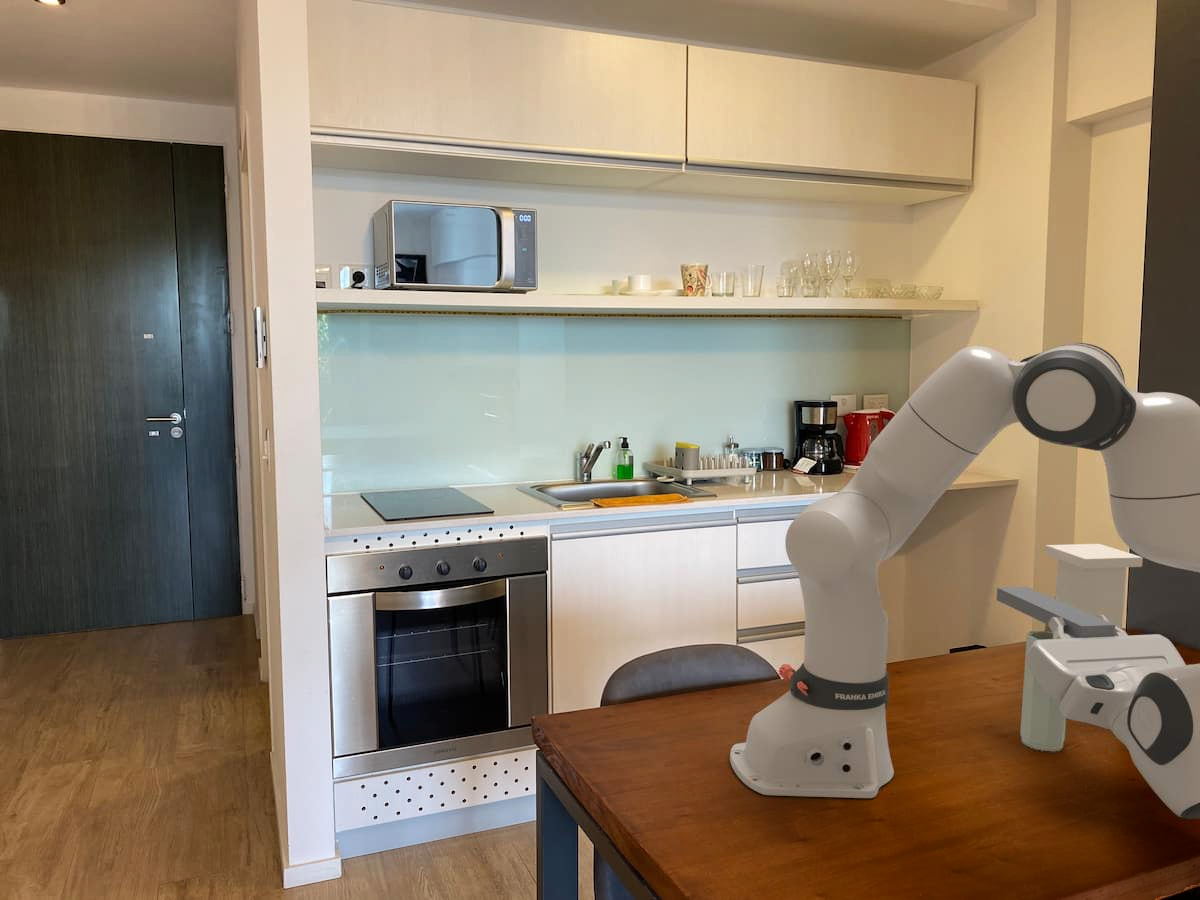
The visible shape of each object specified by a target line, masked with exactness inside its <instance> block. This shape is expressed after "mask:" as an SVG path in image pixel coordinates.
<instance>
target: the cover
mask: <svg viewBox="0 0 1200 900" xmlns="http://www.w3.org/2000/svg"><path fill="white" fill-rule="evenodd" d="M996 601H998V602H999V603H1001V604H1004V605H1007V606H1008V607H1010V608H1013V609H1014V610H1016V611H1018V612H1021V613H1023V614H1024V615H1027V616H1029V617H1031V618H1033V619H1035V620H1038V621H1039V622H1041V623H1043V624H1045V625H1046V624H1047V625H1048V623H1049V621H1050V619H1051V618H1052V617H1063V619H1064V621H1066V623H1067V624H1068V626H1067V628H1066V629H1065V632H1064V633H1066V634H1068V635H1070V636H1072V637H1075V638H1088V637H1110V636H1115V625H1114V624H1112V623H1110V622H1107V621H1105V620H1103V619H1101V618H1098V617H1096V616H1094V615H1091V614H1089V613H1087V612H1084V611H1082V610H1080V609H1077V608H1075V607H1073V606H1070V605H1068V604H1066V603H1063V602H1061V601H1059V600H1056V599H1055V597H1051V596H1050V595H1047V594H1044V593H1042V592H1039V591H1038V590H1035V589H1033V588H1030V587H1028V586H1007V587H996Z"/></svg>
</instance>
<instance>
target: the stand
mask: <svg viewBox="0 0 1200 900" xmlns="http://www.w3.org/2000/svg"><path fill="white" fill-rule="evenodd" d="M1044 555H1047V556H1050V557H1053V558H1055V559H1056V560H1057V559H1058V560H1057V575H1056V588H1055V589H1056V590H1055V596H1056V600H1059V601H1061V602H1063V603H1066V604H1068V605H1070V606H1073V607H1075V608H1077V609H1080V610H1082V611H1084V612H1087V613H1089V614H1091V615H1094V616H1097V615H1104V616H1105V617H1106V618H1107V620H1108V621H1109V622H1110V623H1112V624H1114V625H1115V626H1117V627H1118V628H1120V629H1122V628H1123V618H1124V617H1123V616H1124V605H1125V604H1124V602H1125V591H1126V590H1125V589H1126V580H1127V579H1126V578H1127V577H1126V576H1127V568H1142V567H1143V559H1144V557H1142V556H1140V555H1138V554H1137V555H1136V554H1134V553H1130V552H1127V551H1124V550H1121V549H1118V548H1115V547H1111V546H1109V545H1104V544H1101V543H1079V544H1077V543H1076V544H1075V543H1074V544H1045V545H1044ZM1122 630H1123V629H1122ZM1064 634H1066V633H1064ZM1069 637H1070V638H1075V637H1072V636H1070V635H1069Z"/></svg>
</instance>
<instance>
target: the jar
mask: <svg viewBox="0 0 1200 900" xmlns="http://www.w3.org/2000/svg"><path fill="white" fill-rule="evenodd" d="M1053 634H1054V633H1053V632H1049V631H1045V630H1032V631H1031V630H1030V631H1029V632H1028V633H1027V634H1026V642H1025V653H1024V654H1025V657H1024V669H1023V670H1024V673H1023V687H1022V699H1021V700H1022V702H1021V703H1022V704H1021V715H1020V716H1021V717H1020V732H1019V733H1020V734H1019V736H1020V737H1021V739H1020V740H1021V743H1022V745H1024V746H1025V745H1026V746H1025V747H1027V746H1028V747H1027V748H1029V747H1030V749H1032V748H1033V749H1032V750H1034V749H1036V750H1035V751H1038V750H1041V751H1040V752H1043V751H1052V752H1051V753H1056V752H1055V751H1058V752H1060V751H1059V750H1061V749H1062V748H1063V749H1064V741H1065V739H1066V726H1067V725H1066V724H1067V718H1066V717H1064V716H1063V715H1062V713H1061V711H1060V709H1059V706H1060V704H1061V701H1058V700H1056V699H1054V698H1053V697H1051V696H1050V695H1049V694H1048V693H1047V692H1046V691H1045V690H1044V688H1043V687H1042V686H1041V684H1040V683H1039V682H1038V680H1037V679H1036V677H1035V676H1034V674H1033V673H1032V671H1031V670H1030V668H1029V666H1028V664H1027V662H1026V658H1027V654H1028V652H1029V650H1030V648H1031V646H1032V644H1033V643H1034V641H1036V640H1045V639H1053ZM1063 749H1062V750H1063ZM1062 750H1061V751H1062ZM1053 751H1054V752H1053Z"/></svg>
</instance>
